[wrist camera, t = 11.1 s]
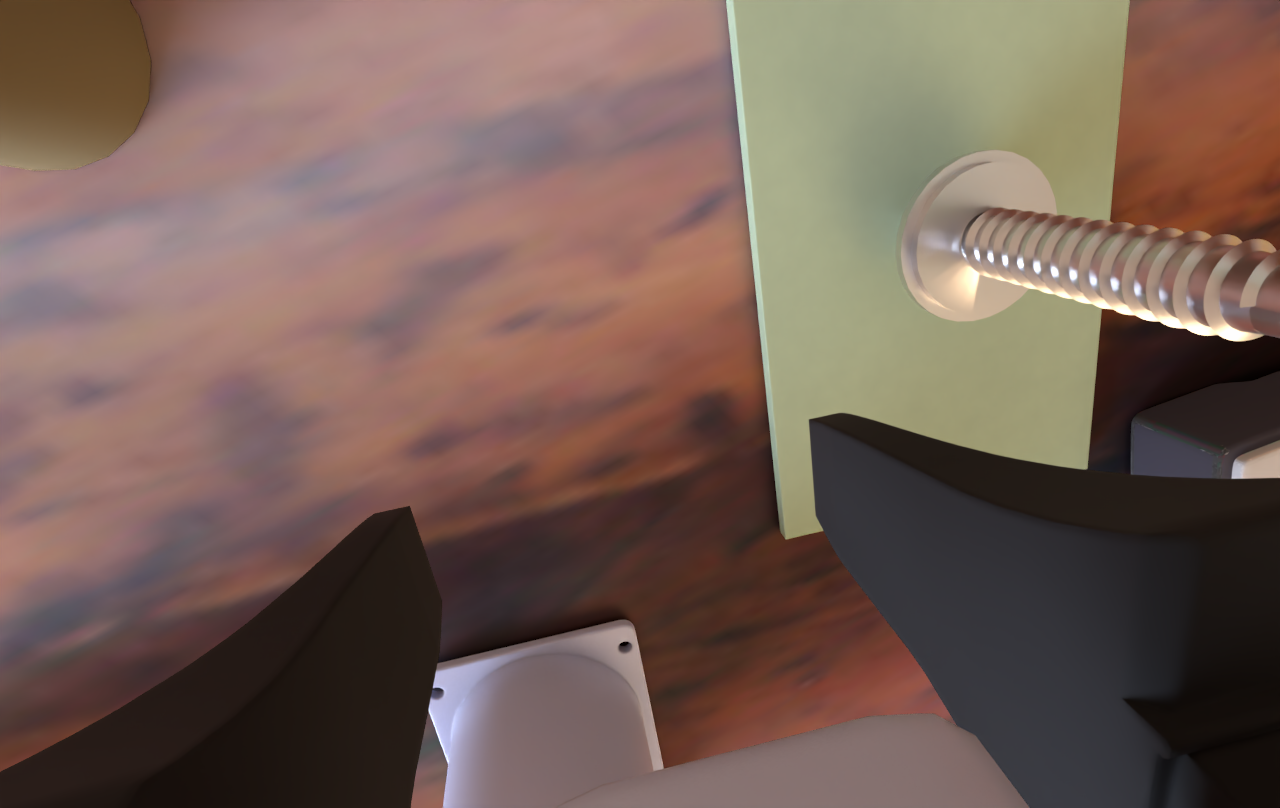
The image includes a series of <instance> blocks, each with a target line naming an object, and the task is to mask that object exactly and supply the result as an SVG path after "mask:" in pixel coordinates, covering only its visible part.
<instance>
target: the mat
mask: <svg viewBox="0 0 1280 808" xmlns="http://www.w3.org/2000/svg"><path fill="white" fill-rule="evenodd" d="M1129 3H1130V0H726V5H727V15H728V25H729V34H730V44H731V54H732V64H733V74H734V83H735V93H736V103H737V113H738V123H739V133H740V142H741V152H742V162H743V172H744V182H745V191H746V201H747V211H748V221H749V231H750V240H751V250H752V260H753V270H754V280H755V289H756V299H757V309H758V319H759V329H760V338H761V348H762V358H763V368H764V378H765V387H766V397H767V407H768V417H769V427H770V437H771V446H772V456H773V466H774V476H775V486H776V495H777V505H778V515H779V525H780V532H781V533H782V535H783V536H784V538H785V539H790V538H794V537H798V536H803V535H807V534H811V533H815V532H820V531H823V529H822V527H821V525H820V523H819V521H818V519H817V517H816V514H815V500H814V486H813V472H812V458H811V445H810V431H809V419H813V418H818V417H822V416H827V415H831V414H836V413H848V414H853V415H857V416H861V417H865V418H868V419H872V420H875V421H878V422H882V423H885V424H888V425H891V426H895V427H898V428H901V429H904V430H908V431H911V432H914V433H917V434H921V435H924V436H927V437H931V438H934V439H938V440H941V441H945V442H948V443H952V444H956V445H959V446H963V447H967V448H971V449H975V450H979V451H983V452H987V453H991V454H996V455H1000V456H1005V457H1010V458H1014V459H1020V460H1026V461H1031V462H1037V463H1043V464H1049V465H1054V466H1061V467H1068V468H1076V469H1083V470H1084V469H1087V468H1088V457H1089V446H1090V434H1091V423H1092V412H1093V401H1094V390H1095V379H1096V368H1097V357H1098V346H1099V335H1100V324H1101V313H1102V308H1100V307H1097V306H1095V305H1094V304H1087V303H1082V302H1078V301H1076V300H1074V299H1070V298H1063V297H1060V296H1058V295H1056V294H1049V293H1045V292H1042V291H1040V290H1038V289H1030V288H1029V289H1028V291H1027V292H1026V293H1025V294H1024V295H1023V296H1022V297H1021V298H1020V299H1019V300H1017V301H1016V302H1014V303H1013V304H1012V305H1010V306H1009V307H1008V308H1006V309H1005V310H1003V311H1001V312H999V313H996V314H994V315H992V316H990V317H987V318H983V319H979V320H975V321H960V322H957V321H952V320H947V319H943V318H940V317H937V316H935V315H933V314H931V313H929V312H927V311H925V310H923V309H922V308H921V307H920V306H919V305H918V304H917V303H915V302H914V301H913V300H912V299H911V297H910V296H909V294H908V293H907V291H906V290H905V288H904V287H903V285H902V282H901V279H900V276H899V273H898V271H897V262H896V254H895V252H896V240H897V233H898V229H899V226H900V222H901V219H902V215H903V213H904V211H905V209H906V207H907V205H908V203H909V201H910V199H911V197H912V196H913V195H914V193H915V192H916V191H917V189H918V188H919V187H920V185H921V184H922V183H923V181H925V180H926V179H927V178H928V177H929V176H930V175H931V174H932V173H933V172H934V171H935V170H936V169H937V168H939V167H940V166H942V165H944V164H945V163H947V162H949V161H950V160H952V159H953V158H956V157H958V156H961V155H964V154H967V153H970V152H974V151H983V150H1001V151H1008V152H1013V153H1016V154H1018V155H1020V156H1022V157H1025V158H1027V159H1028V160H1030V161H1031V162H1032V163H1033V164H1034V165H1036V166H1037V167H1038V168H1039V169H1040V170H1041V171H1042V173H1043V174H1044V176H1045V177H1046V179H1047V180H1048V181H1049V183H1050V186H1051V189H1052V191H1053V194H1054V197H1055V202H1056V209H1057V216H1058V215H1068V216H1071V217H1073V218H1077V217H1085V218H1089V219H1091V220H1093V221H1094V220H1108V221H1110V213H1111V202H1112V191H1113V180H1114V169H1115V158H1116V147H1117V136H1118V125H1119V114H1120V103H1121V92H1122V80H1123V69H1124V58H1125V47H1126V36H1127V25H1128V14H1129Z"/></svg>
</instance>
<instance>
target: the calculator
mask: <svg viewBox="0 0 1280 808" xmlns="http://www.w3.org/2000/svg"><path fill="white" fill-rule="evenodd" d="M1131 474H1132V475H1147V476H1163V477H1187V478H1218V479H1245V478H1280V371H1278V372H1275V373H1273V374H1270V375H1267V376H1264V377H1262V378H1259V379H1256V380H1253V381H1244V382H1232V383H1221V384H1214V385H1211V386H1209V387H1206V388H1203V389H1201V390H1198V391H1195V392H1192V393H1190V394H1187V395H1184V396H1181V397H1179V398H1176V399H1173V400H1171V401H1168V402H1165V403H1162V404H1160V405H1157V406H1154V407H1152V408H1149V409H1146V410H1144V411H1141V412H1139V413H1138V414H1136V415H1135V417H1134V418H1133V420H1132V423H1131Z"/></svg>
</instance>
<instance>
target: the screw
mask: <svg viewBox="0 0 1280 808" xmlns="http://www.w3.org/2000/svg"><path fill="white" fill-rule="evenodd" d="M895 254H896V262H897V271H898V273H899V276H900V279H901V282H902V285H903V287H904V288H905V290H906V291H907V293H908V294H909V296H910V297H911V299H912V300H913V301H914V302H915V303H917V304H918V305H919V306H920V307H921V308H922V309H923V310H925V311H927V312H929V313H931V314H933V315H935V316H937V317H940V318H943V319H947V320H952V321H957V322H960V321H975V320H979V319H983V318H987V317H990V316H992V315H994V314H996V313H999V312H1001V311H1003V310H1005V309H1006V308H1008V307H1009V306H1010V305H1012V304H1013V303H1014V302H1016V301H1017V300H1019V299H1020V298H1021V297H1022V296H1023V295H1024V294H1025V293H1026V292H1027V291H1028V289H1029V288H1030V289H1038V290H1040V291H1042V292H1045V293H1049V294H1056V295H1058V296H1060V297H1063V298H1070V299H1074V300H1076V301H1078V302H1082V303H1087V304H1094V305H1095V306H1097V307H1100V308H1104V309H1113V310H1115V311H1117V312H1119V313H1122V314H1126V315H1136V316H1137V317H1139V318H1142V319H1144V320H1148V321H1160V322H1161V323H1163V324H1165V325H1167V326H1169V327H1174V328H1186V329H1187V330H1189V331H1191V332H1193V333H1196V334H1199V335H1205V336H1213V335H1219V336H1221V337H1222V338H1225V339H1227V340H1232V341H1248V340H1252V339H1256V338H1259V337H1261V336H1264V335H1268V336H1272V337H1276V338H1280V250H1278V251H1276V249H1275V247H1274V246H1273V245H1272V244H1271V243H1269V242H1268V241H1265V240H1262V239H1252V240H1247V241H1245V242H1242V241H1241V240H1240V239H1239V238H1237V237H1235V236H1233V235H1229V234H1222V235H1216V236H1214V237H1211V236H1210V235H1209V234H1207V233H1205V232H1202V231H1190V232H1186V233H1184V232H1182V231H1181V230H1179V229H1176V228H1163V229H1158V228H1156V227H1154V226H1151V225H1139V226H1134V225H1133V224H1130V223H1127V222H1117V223H1112V222H1110V221H1108V220H1094V221H1093V220H1091V219H1089V218H1085V217H1077V218H1073V217H1071V216H1068V215H1058V216H1057V209H1056V202H1055V197H1054V194H1053V191H1052V189H1051V186H1050V183H1049V181H1048V180H1047V179H1046V177H1045V176H1044V174H1043V173H1042V171H1041V170H1040V169H1039V168H1038V167H1037V166H1036V165H1034V164H1033V163H1032V162H1031V161H1030V160H1028V159H1027V158H1025V157H1022V156H1020V155H1018V154H1016V153H1013V152H1008V151H1001V150H983V151H974V152H970V153H967V154H964V155H961V156H958V157H956V158H953V159H952V160H950V161H949V162H947V163H945V164H944V165H942V166H940V167H939V168H937V169H936V170H935V171H934V172H933V173H932V174H931V175H930V176H929V177H928V178H927V179H926V180H925V181H923V183H922V184H921V185H920V187H919V188H918V189H917V191H916V192H915V193H914V195H913V196H912V197H911V199H910V201H909V203H908V205H907V207H906V209H905V211H904V213H903V215H902V219H901V222H900V226H899V229H898V233H897V240H896V252H895Z"/></svg>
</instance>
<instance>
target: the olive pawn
mask: <svg viewBox="0 0 1280 808" xmlns="http://www.w3.org/2000/svg"><path fill="white" fill-rule="evenodd" d="M150 69H151V59H150V56H149V52H148V48H147V44H146V40H145V36H144V32H143V28H142V24H141V21H140V18H139V16H138V15H137V13H136V11H135V9H134V8H133V6H132V4H131V2H130V0H0V165H2V166H8V167H15V168H21V169H27V170H34V171H40V170H68V169H77V168H79V167H82V166H85V165H87V164H90V163H92V162H95V161H98V160H100V159H103V158H105V157H108V156H109V155H111V154H112V153H113V152H114V151H115V150H116V149H117V148H118V147H119V146H120V145H121V144H122V143H123V142H124V141H126V140H127V139H128V138H129V137H130V136H131V135H132V134H133V133H134V132H135V129H136V127H137V125H138V123H139V120H140V118H141V116H142V114H143V112H144V109H145V107H146V105H147V103H148V101H149V86H150Z"/></svg>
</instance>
